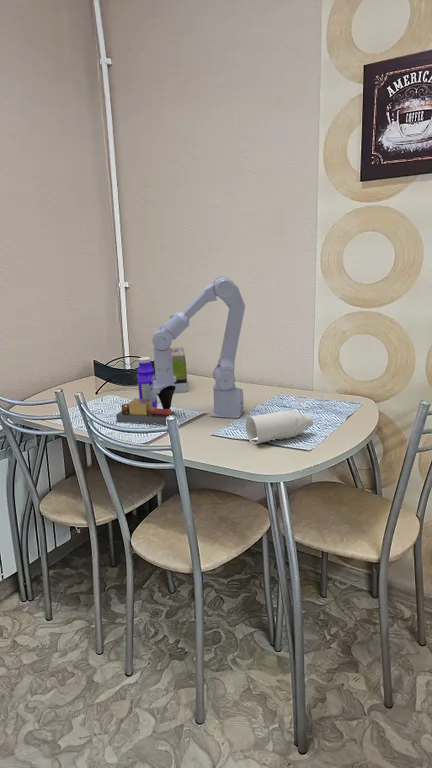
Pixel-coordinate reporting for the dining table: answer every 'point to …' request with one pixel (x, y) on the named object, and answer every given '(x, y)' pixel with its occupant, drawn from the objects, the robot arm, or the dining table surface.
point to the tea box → (179, 370)
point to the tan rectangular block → (140, 407)
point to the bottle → (146, 380)
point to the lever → (160, 411)
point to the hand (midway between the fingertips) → (166, 408)
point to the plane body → (140, 417)
